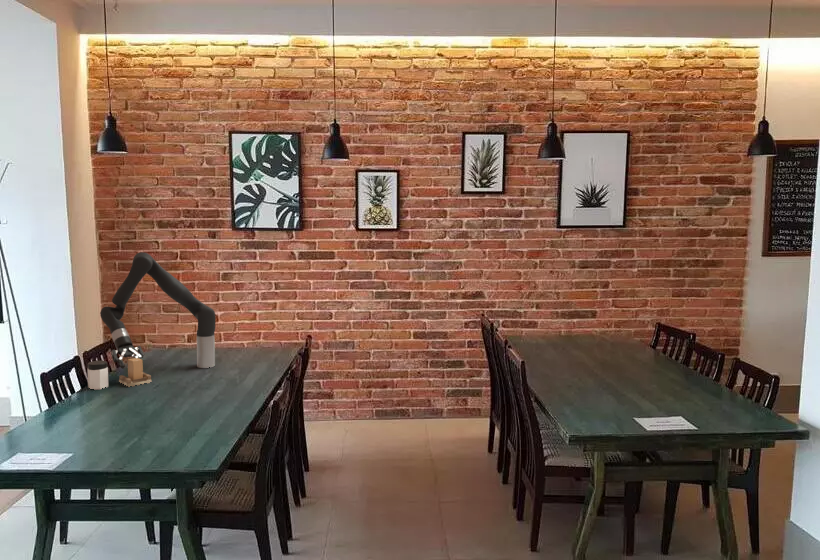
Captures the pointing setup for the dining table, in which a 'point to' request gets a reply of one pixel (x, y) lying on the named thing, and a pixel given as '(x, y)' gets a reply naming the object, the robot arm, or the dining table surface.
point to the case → (135, 368)
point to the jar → (97, 374)
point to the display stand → (135, 380)
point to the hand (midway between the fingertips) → (132, 366)
